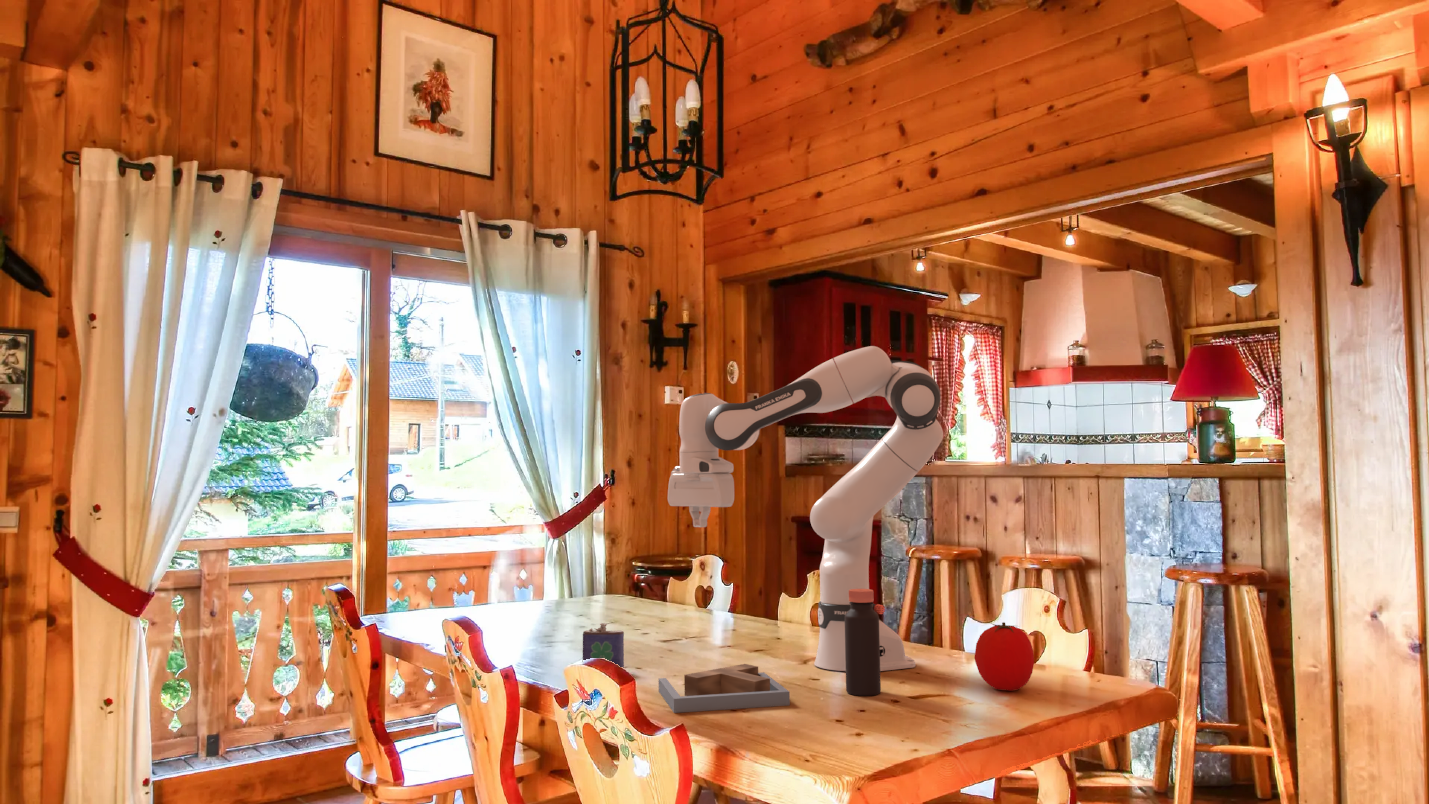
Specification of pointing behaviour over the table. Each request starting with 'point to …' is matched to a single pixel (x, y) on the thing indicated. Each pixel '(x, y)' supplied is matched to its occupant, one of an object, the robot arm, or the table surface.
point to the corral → (724, 698)
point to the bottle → (862, 645)
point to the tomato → (1004, 657)
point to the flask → (604, 644)
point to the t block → (726, 681)
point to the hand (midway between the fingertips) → (700, 527)
